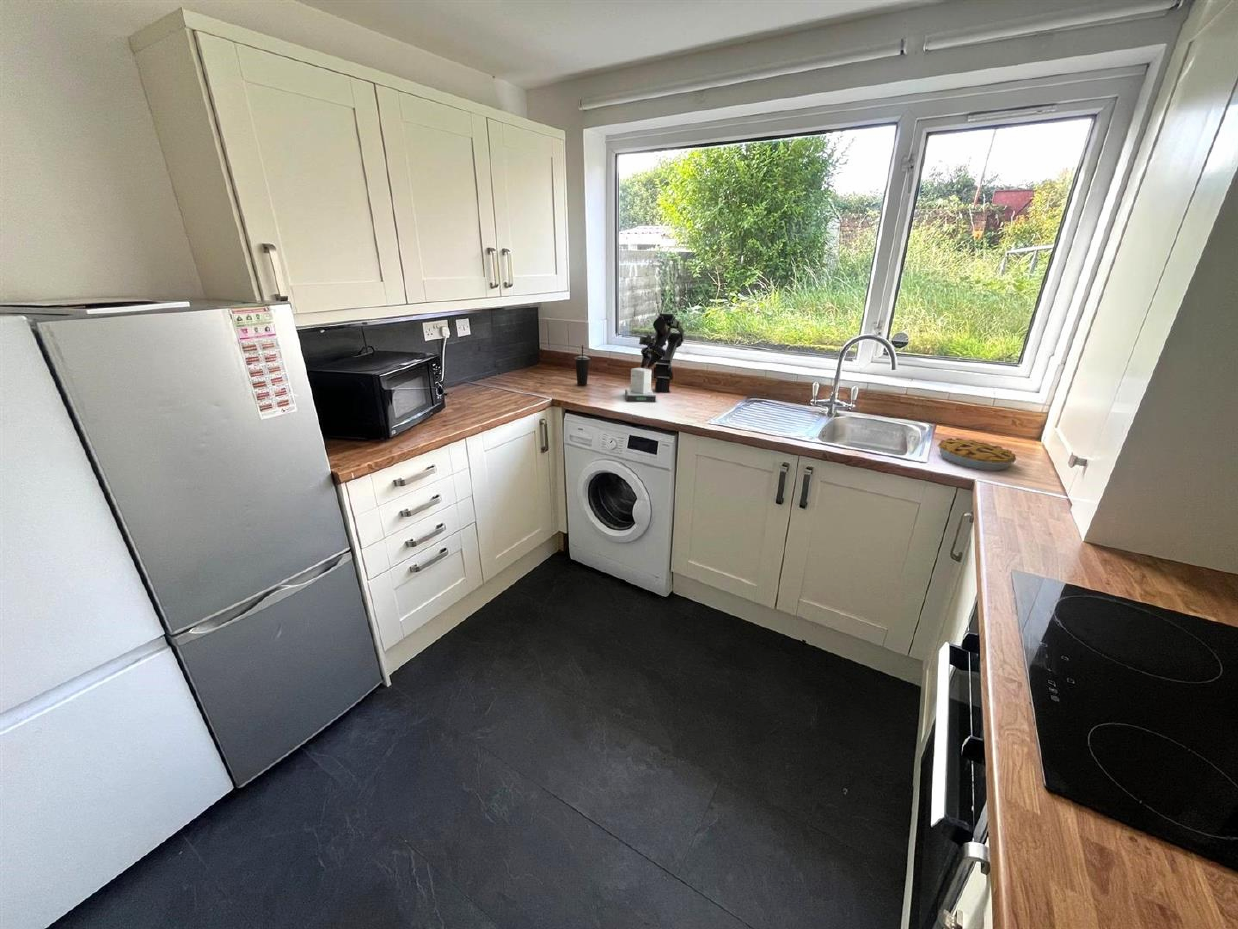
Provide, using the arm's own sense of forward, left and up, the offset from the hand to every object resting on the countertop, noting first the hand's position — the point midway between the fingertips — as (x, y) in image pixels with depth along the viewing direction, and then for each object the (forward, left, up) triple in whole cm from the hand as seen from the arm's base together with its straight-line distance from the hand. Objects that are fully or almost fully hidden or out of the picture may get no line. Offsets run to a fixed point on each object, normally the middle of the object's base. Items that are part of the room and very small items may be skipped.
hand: (644, 367), depth 233 cm
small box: (+2, +6, -10) cm, 12 cm away
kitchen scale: (+2, +6, -13) cm, 15 cm away
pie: (-102, +84, -13) cm, 133 cm away
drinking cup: (+29, -20, -13) cm, 38 cm away
